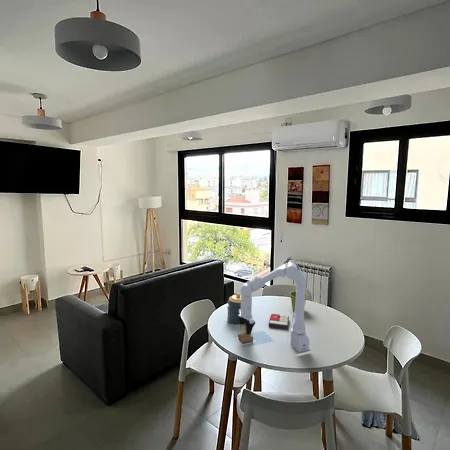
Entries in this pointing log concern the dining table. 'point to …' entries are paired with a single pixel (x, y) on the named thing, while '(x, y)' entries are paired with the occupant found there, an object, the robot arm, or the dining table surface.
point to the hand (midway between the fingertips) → (245, 330)
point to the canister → (234, 309)
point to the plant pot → (293, 299)
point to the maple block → (244, 330)
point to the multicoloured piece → (279, 321)
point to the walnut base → (245, 338)
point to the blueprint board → (257, 339)
